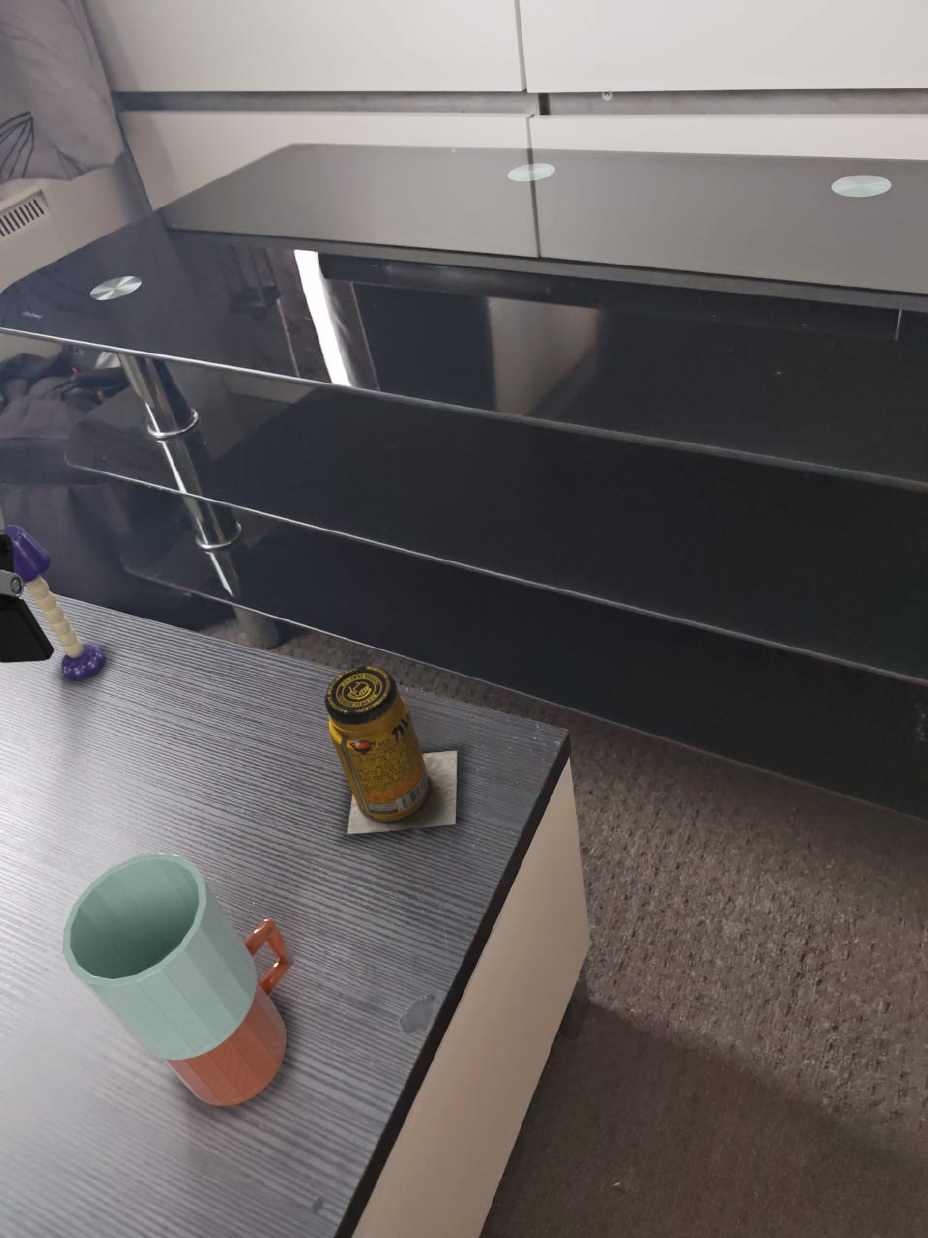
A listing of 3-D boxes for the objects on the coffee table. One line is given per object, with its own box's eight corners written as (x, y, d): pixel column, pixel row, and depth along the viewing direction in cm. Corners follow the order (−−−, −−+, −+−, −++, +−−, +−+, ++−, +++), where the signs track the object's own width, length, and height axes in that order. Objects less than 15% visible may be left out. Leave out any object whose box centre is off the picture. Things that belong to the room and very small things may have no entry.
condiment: (356, 761, 76) (319, 659, 68) (457, 752, 75) (431, 647, 67) (347, 836, 71) (305, 735, 63) (456, 826, 70) (427, 723, 62)
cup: (112, 1061, 52) (39, 987, 46) (153, 935, 57) (93, 854, 52) (240, 1061, 51) (182, 985, 45) (269, 932, 56) (221, 849, 50)
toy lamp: (119, 657, 91) (41, 521, 80) (85, 689, 88) (0, 554, 77) (85, 646, 93) (5, 513, 82) (51, 678, 90) (-37, 544, 79)
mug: (237, 1128, 56) (191, 1076, 51) (163, 1070, 59) (112, 1015, 54) (336, 991, 61) (305, 931, 56) (264, 945, 65) (227, 884, 59)
